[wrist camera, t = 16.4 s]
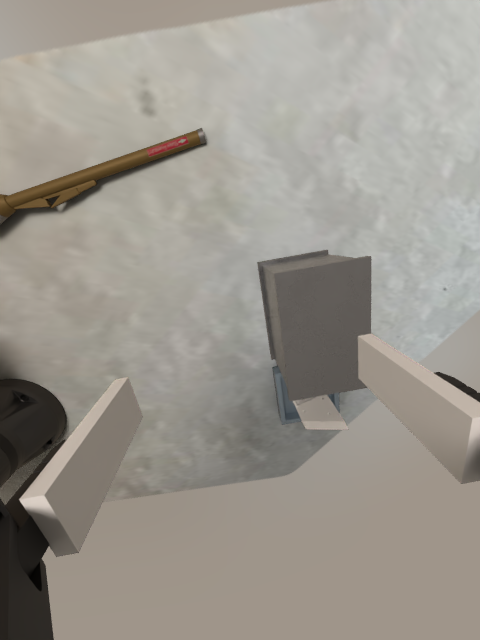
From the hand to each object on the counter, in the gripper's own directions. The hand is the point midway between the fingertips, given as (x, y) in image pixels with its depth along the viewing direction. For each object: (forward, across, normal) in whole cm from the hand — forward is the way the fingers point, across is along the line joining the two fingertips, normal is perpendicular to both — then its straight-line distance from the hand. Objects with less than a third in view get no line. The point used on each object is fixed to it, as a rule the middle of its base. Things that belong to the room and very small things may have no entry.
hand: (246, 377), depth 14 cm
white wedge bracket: (+26, +10, -21) cm, 35 cm away
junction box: (+27, +10, -5) cm, 29 cm away
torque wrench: (+27, -18, +18) cm, 37 cm away
